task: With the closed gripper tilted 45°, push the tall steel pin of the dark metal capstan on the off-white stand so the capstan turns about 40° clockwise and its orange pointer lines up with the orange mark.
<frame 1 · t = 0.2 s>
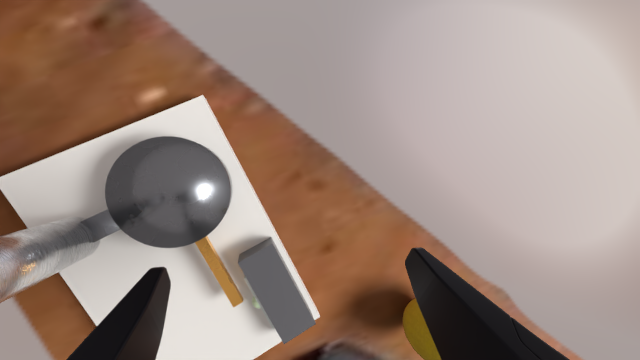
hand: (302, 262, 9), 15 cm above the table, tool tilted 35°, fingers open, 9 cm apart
stand: (192, 249, 22), on the table
lemon: (410, 306, 28), on the table
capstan: (138, 262, 15), point 7 cm above the table, hinge at 0.0°
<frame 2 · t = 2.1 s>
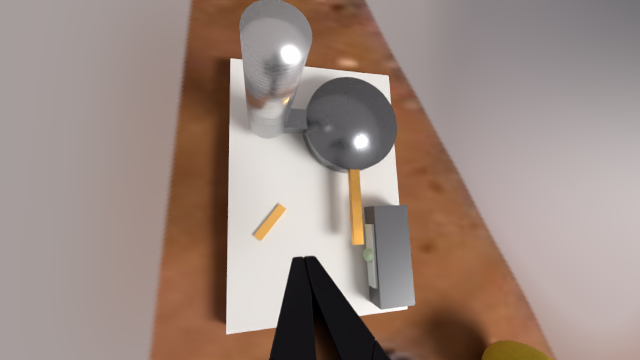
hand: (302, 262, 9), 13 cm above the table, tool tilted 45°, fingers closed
stand: (321, 187, 24), on the table
lemon: (483, 356, 25), on the table
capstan: (343, 143, 17), point 7 cm above the table, hinge at 0.0°
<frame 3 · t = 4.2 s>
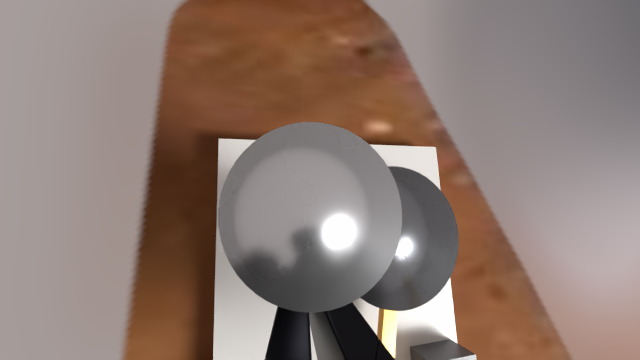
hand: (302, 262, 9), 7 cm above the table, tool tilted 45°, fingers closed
stand: (347, 311, 17), on the table
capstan: (392, 311, 10), point 7 cm above the table, hinge at -9.8°, touching gripper
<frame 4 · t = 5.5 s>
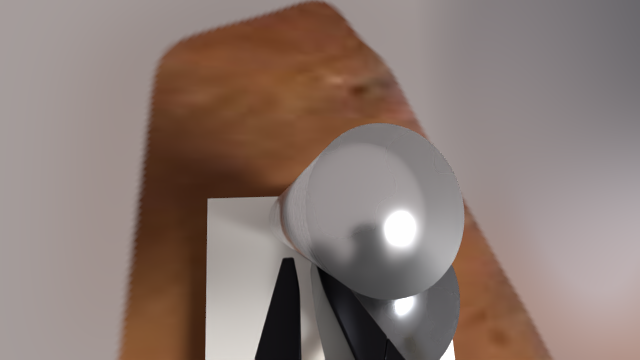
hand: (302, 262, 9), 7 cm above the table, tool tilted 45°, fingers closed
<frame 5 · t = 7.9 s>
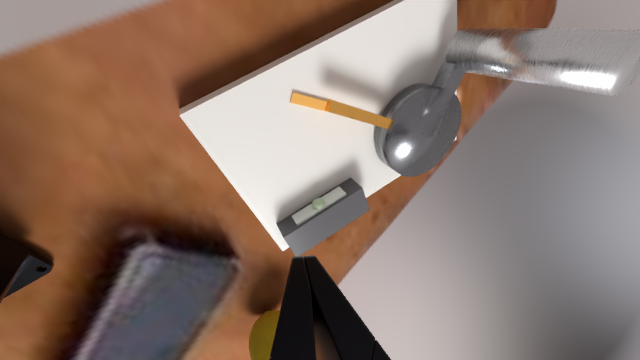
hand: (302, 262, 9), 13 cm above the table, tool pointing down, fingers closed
stand: (350, 130, 23), on the table
lemon: (266, 310, 30), on the table
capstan: (454, 113, 17), point 7 cm above the table, hinge at -41.9°
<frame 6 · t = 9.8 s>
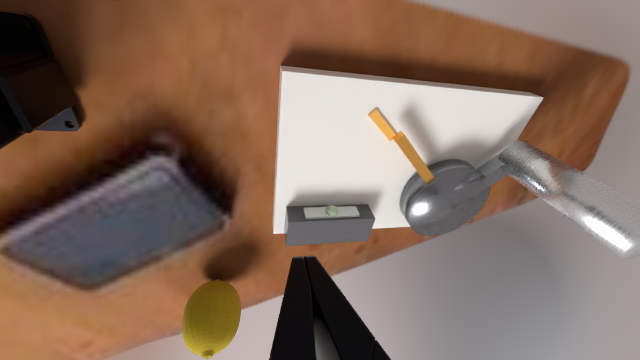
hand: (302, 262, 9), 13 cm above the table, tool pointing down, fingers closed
stand: (390, 166, 25), on the table
lemon: (217, 278, 30), on the table
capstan: (491, 202, 19), point 7 cm above the table, hinge at -41.9°
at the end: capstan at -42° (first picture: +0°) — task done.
